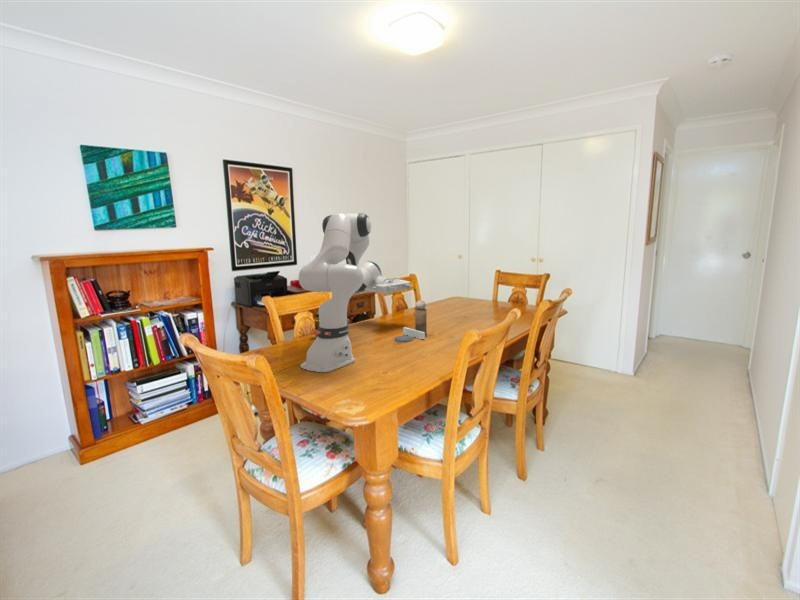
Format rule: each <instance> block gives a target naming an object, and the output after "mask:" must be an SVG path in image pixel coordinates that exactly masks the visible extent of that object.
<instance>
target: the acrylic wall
mask: <svg viewBox="0 0 800 600" xmlns="http://www.w3.org/2000/svg"><path fill="white" fill-rule="evenodd" d="M402 332H403V333H402V335H403V336H407V335H408V336H412V337H413V338H414V337H416V338H415V339H418V338H419V339H418V340H421V339H425V340H426V336H425V332H421V331H418V330H415V328H410V327H406V326H404V327H402Z"/></svg>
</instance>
